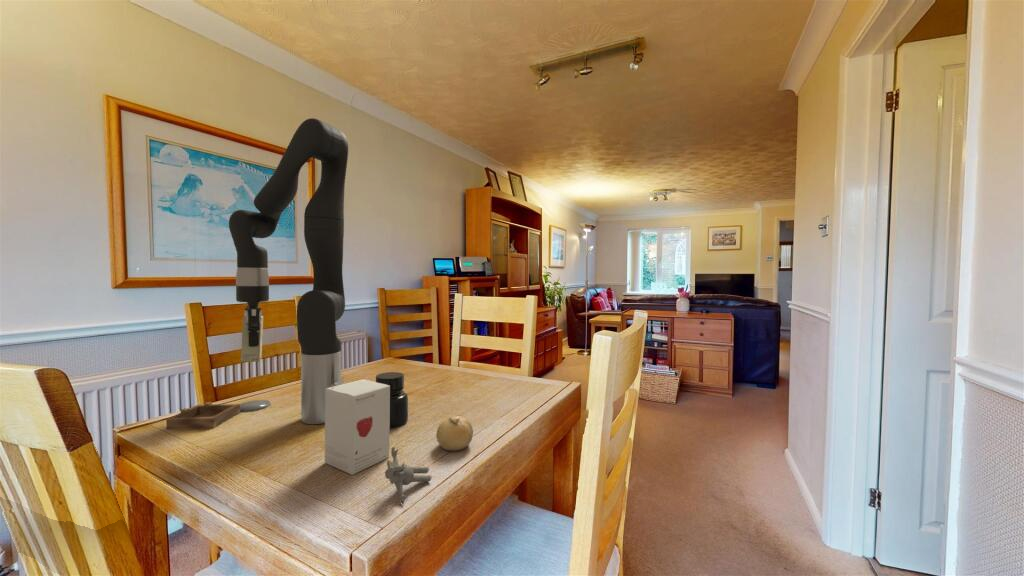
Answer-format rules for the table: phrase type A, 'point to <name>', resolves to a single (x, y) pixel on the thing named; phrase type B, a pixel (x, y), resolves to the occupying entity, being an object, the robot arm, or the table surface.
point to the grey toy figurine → (404, 474)
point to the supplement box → (357, 425)
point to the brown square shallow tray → (190, 420)
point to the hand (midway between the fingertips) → (253, 344)
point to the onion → (454, 433)
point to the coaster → (254, 405)
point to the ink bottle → (395, 397)
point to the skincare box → (246, 351)
